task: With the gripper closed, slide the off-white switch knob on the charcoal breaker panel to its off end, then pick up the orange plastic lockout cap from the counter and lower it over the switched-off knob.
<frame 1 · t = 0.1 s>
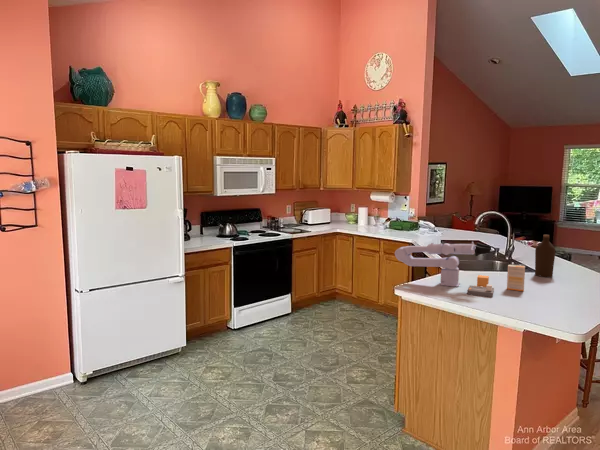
hand: (490, 249, 231), 22 cm above the counter, tool horizontal, fingers open, 7 cm apart
supplement box: (515, 289, 232), on the counter
olive oil: (543, 275, 263), on the counter
breaker panel: (480, 292, 226), on the counter
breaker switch: (489, 287, 222), point 4 cm above the counter, slide at 0.0 cm
lockout cap: (482, 287, 237), on the counter
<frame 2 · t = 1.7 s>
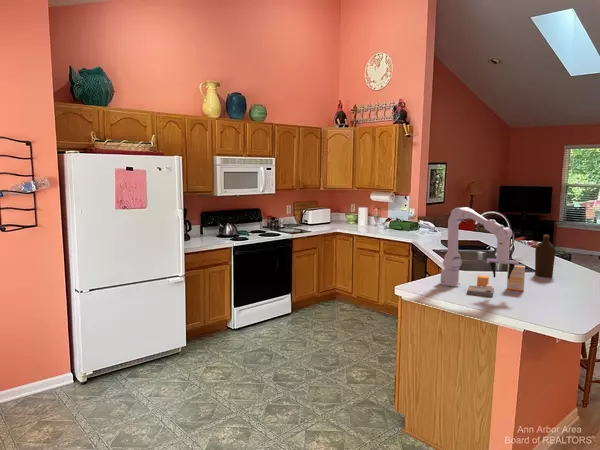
hand: (501, 277, 219), 9 cm above the counter, tool pointing down, fingers open, 6 cm apart
nothing on the counter moved.
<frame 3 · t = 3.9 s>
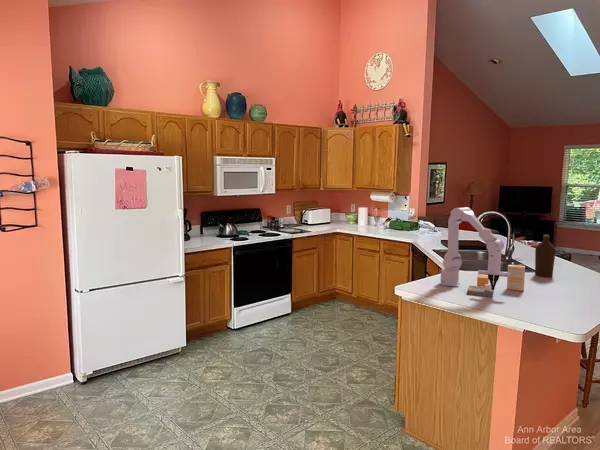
hand: (492, 289, 221), 3 cm above the counter, tool pointing down, fingers closed
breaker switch: (487, 287, 222), point 4 cm above the counter, slide at 0.6 cm, touching gripper
everything else where it was.
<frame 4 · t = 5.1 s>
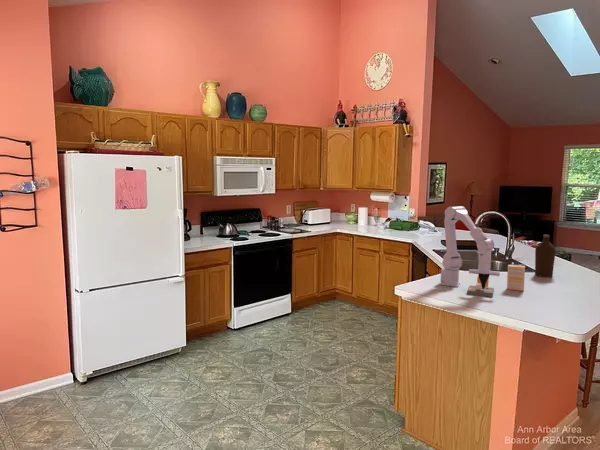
hand: (483, 288, 223), 3 cm above the counter, tool pointing down, fingers closed
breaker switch: (478, 286, 224), point 4 cm above the counter, slide at 5.1 cm, touching gripper
everything else where it was.
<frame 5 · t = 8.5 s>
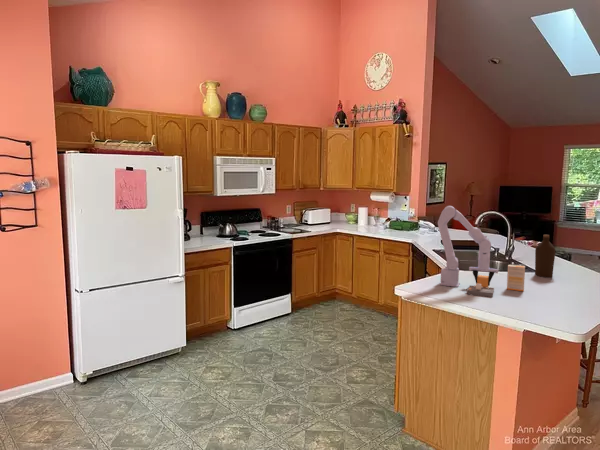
hand: (482, 284, 237), 1 cm above the counter, tool pointing down, fingers closed on lockout cap, 5 cm apart
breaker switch: (478, 286, 224), point 4 cm above the counter, slide at 5.0 cm
lockout cap: (482, 287, 237), on the counter, touching gripper
everything else where it was.
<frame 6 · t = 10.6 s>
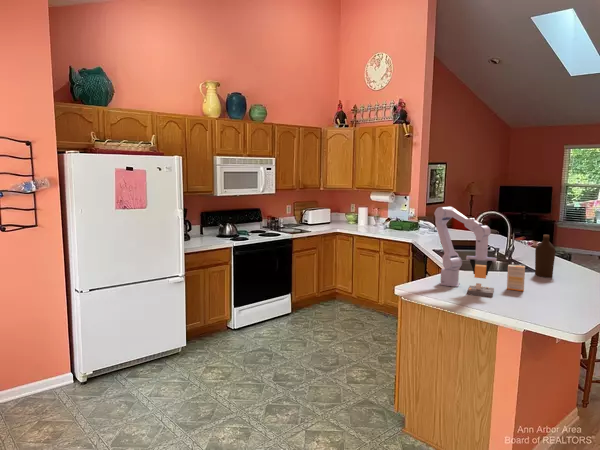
hand: (480, 274, 226), 9 cm above the counter, tool pointing down, fingers closed on lockout cap, 5 cm apart
lockout cap: (480, 277, 227), point 8 cm above the counter, touching gripper
everything else where it was.
when the fingers open (5 cm above the counter, at t = 12.6 s): lockout cap stays where it is, resting on breaker panel.
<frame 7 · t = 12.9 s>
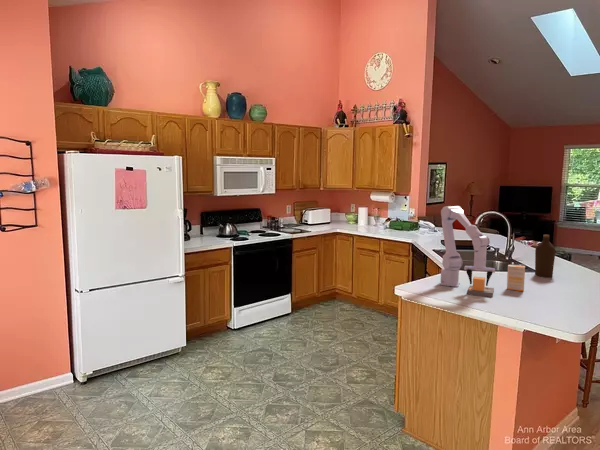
hand: (478, 284, 224), 5 cm above the counter, tool pointing down, fingers open, 7 cm apart
lockout cap: (478, 289, 225), point 2 cm above the counter, touching breaker panel
everything else where it was.
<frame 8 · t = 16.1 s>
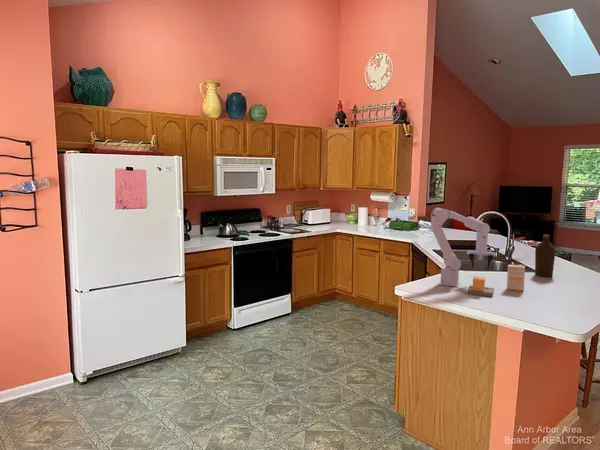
hand: (480, 267, 242), 9 cm above the counter, tool pointing down, fingers open, 7 cm apart
nothing on the counter moved.
at the end: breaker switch slide at 5.0 cm; lockout cap 0.2 cm from the target spot, point 2.1 cm above the counter; lockout cap tilted 0° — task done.
